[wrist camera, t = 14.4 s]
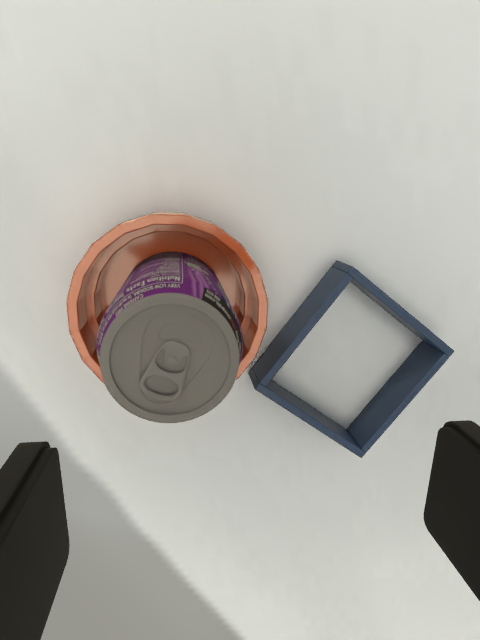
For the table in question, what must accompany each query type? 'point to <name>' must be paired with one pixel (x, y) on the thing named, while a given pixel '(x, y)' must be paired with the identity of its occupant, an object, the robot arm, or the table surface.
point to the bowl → (152, 238)
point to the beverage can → (170, 340)
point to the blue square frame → (388, 398)
